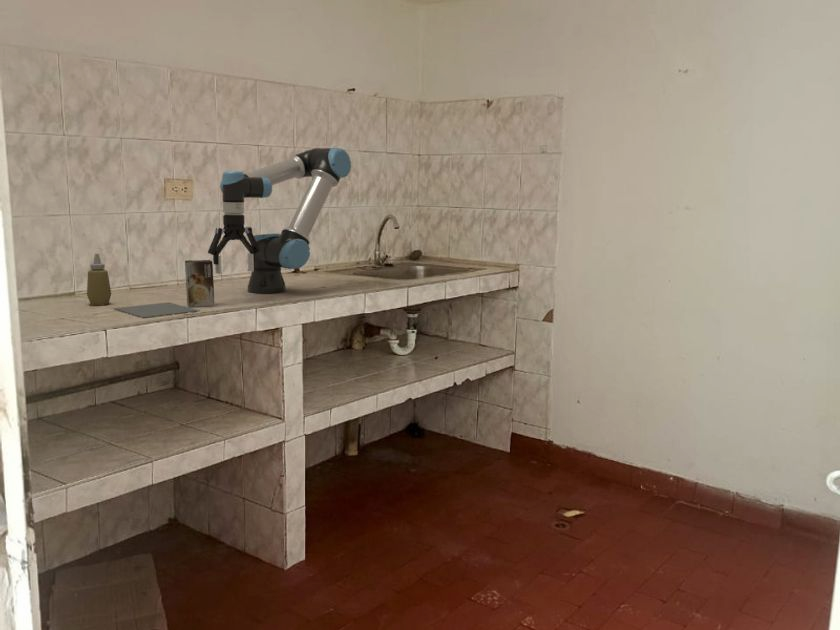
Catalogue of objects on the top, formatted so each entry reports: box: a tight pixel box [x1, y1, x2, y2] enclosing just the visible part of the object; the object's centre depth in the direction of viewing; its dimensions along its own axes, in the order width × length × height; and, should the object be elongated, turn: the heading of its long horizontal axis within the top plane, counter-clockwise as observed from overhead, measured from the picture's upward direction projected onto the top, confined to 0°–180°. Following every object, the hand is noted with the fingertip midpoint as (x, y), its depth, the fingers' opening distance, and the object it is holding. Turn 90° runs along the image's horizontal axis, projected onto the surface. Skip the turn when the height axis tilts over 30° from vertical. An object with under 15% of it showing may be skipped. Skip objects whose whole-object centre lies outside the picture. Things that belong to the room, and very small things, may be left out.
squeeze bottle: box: [86, 253, 112, 306], centre depth 263 cm, size 8×8×18 cm
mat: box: [113, 301, 201, 319], centre depth 255 cm, size 20×22×1 cm
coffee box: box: [184, 259, 215, 308], centre depth 265 cm, size 9×6×16 cm
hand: (234, 272), depth 274 cm, fingers open, 13 cm apart
